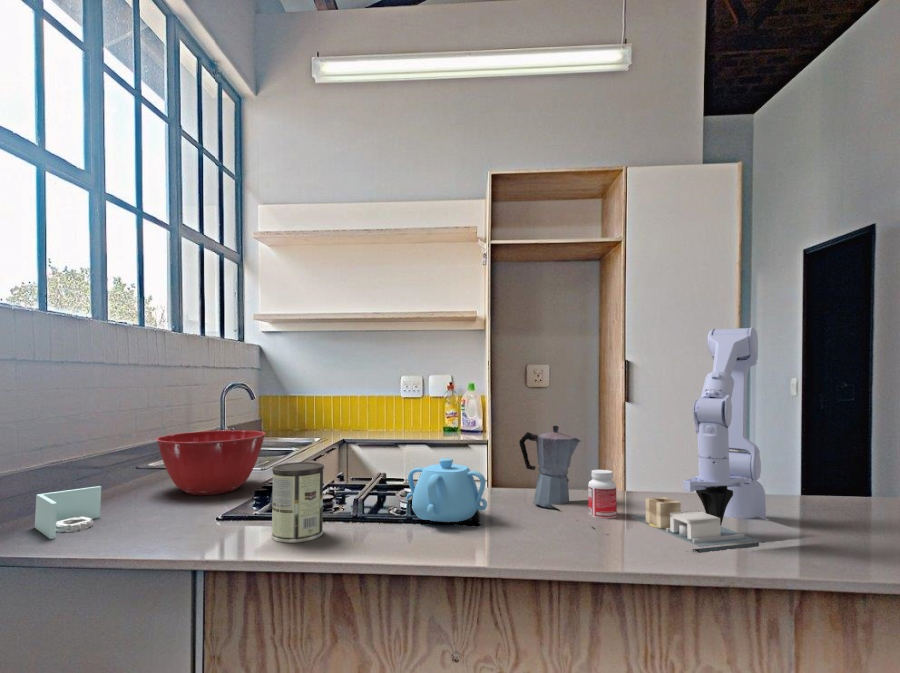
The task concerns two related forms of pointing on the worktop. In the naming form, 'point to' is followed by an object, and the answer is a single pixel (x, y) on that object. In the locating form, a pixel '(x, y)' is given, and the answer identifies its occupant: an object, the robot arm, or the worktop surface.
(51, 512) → the right angle wall
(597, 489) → the pill bottle
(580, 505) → the worktop surface
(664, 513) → the collar
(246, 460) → the mixing bowl
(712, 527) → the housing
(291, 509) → the coffee can
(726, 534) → the board
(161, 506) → the worktop surface
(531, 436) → the moka pot
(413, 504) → the decorative pot
